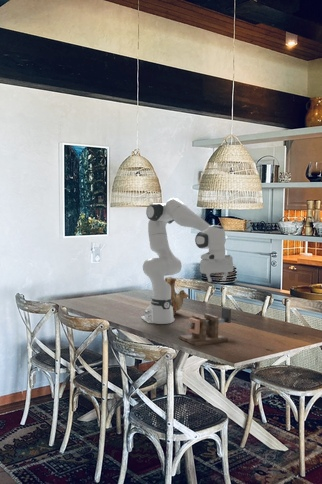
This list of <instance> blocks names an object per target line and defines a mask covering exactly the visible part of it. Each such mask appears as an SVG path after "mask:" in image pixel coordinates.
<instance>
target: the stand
mask: <svg viewBox="0 0 322 484" xmlns="http://www.w3.org/2000/svg"><path fill="white" fill-rule="evenodd" d="M203 315H204V317H202V316H199V315H197V314H193V315H191V318H195V319H198V320H200V334H195V333H192V332H191V334H189V333H188V334H183V335H182V334H181V335H178V336H179V337H178V338H179V339H180V340H181V339H182V341H184V342H186V343H189V344H191V345H193V346H204V345H209V344H210V345H212V344H217V343H223V342H228V340H229V339H228V337H226V336H223V335H219V324H220V323H219V319H220V318H219V316H215V315H213V314H210V313H204V314H203ZM206 320H211V325H206ZM194 328H195V327H194Z"/></svg>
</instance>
